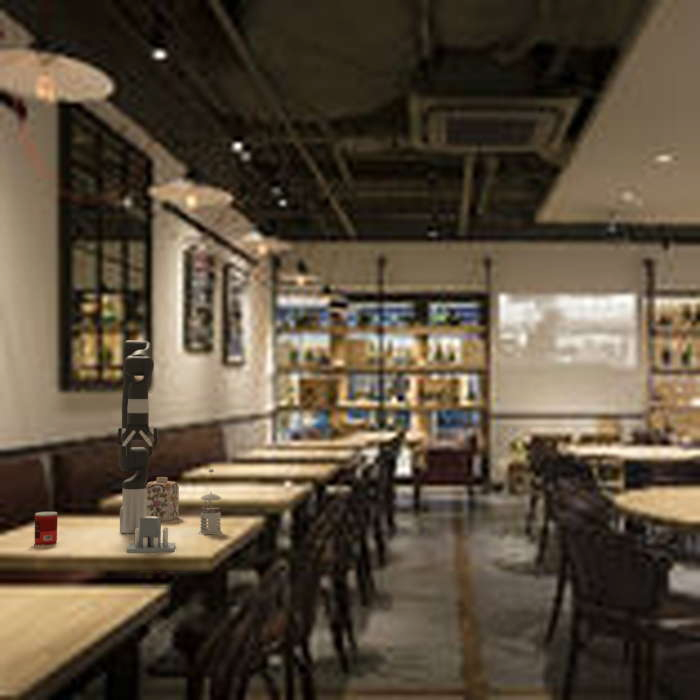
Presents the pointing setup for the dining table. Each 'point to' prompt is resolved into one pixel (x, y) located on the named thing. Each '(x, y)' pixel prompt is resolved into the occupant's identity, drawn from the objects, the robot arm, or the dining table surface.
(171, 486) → the decorative jar
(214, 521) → the french press
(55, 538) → the canned food
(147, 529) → the block
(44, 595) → the dining table surface
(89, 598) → the dining table surface
